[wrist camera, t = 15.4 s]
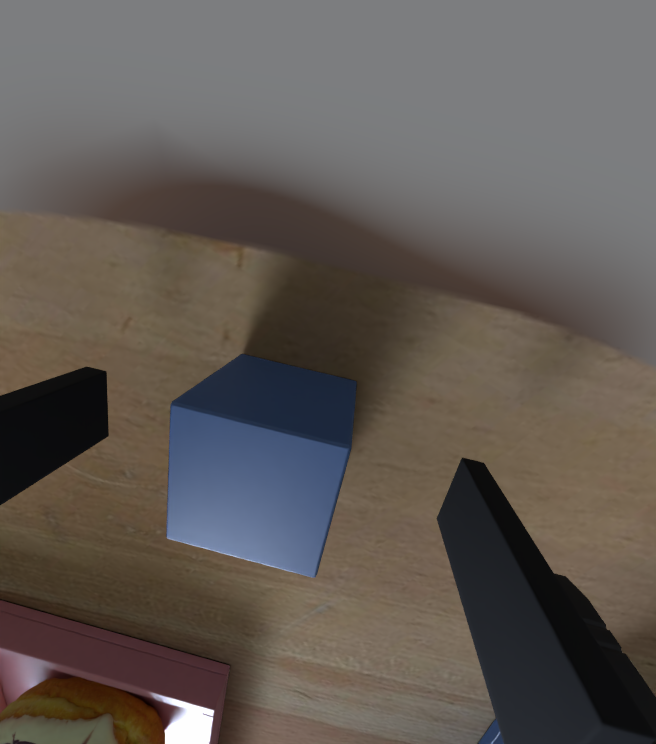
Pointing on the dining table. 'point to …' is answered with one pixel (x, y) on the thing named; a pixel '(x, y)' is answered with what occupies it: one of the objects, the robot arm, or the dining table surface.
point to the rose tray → (113, 670)
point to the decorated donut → (79, 715)
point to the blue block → (260, 462)
